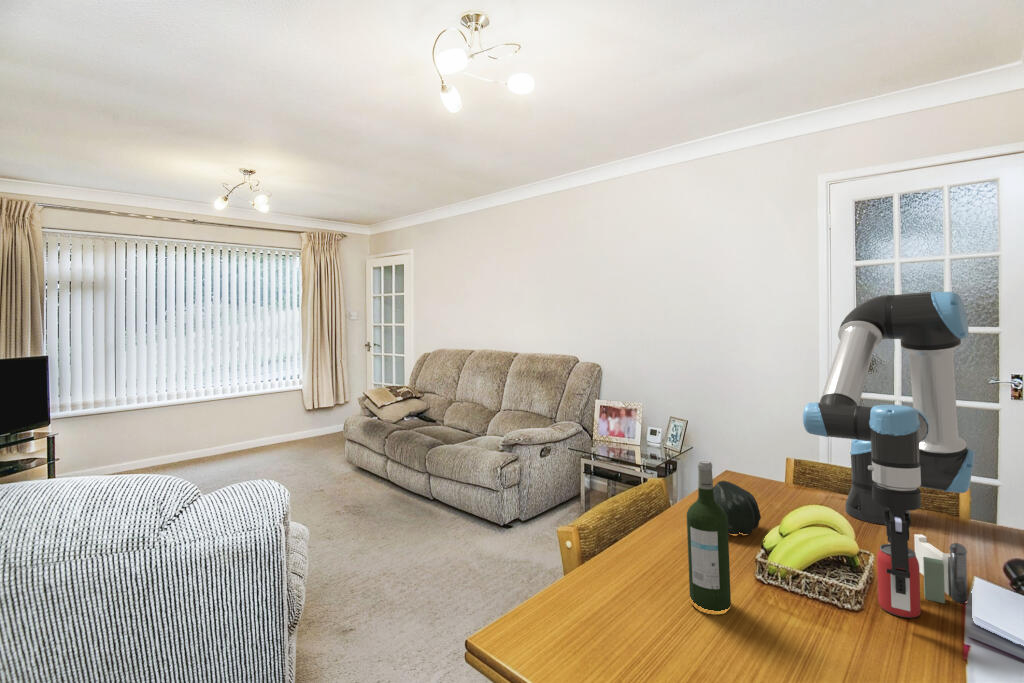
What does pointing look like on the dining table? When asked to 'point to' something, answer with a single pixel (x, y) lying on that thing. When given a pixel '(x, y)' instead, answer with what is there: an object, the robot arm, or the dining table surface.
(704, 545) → the wine bottle
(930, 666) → the dining table surface
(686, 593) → the dining table surface
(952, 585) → the hinge post
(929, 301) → the robot arm
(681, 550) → the dining table surface
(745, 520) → the squash
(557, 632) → the dining table surface
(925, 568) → the block
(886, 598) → the beer can
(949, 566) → the gate
